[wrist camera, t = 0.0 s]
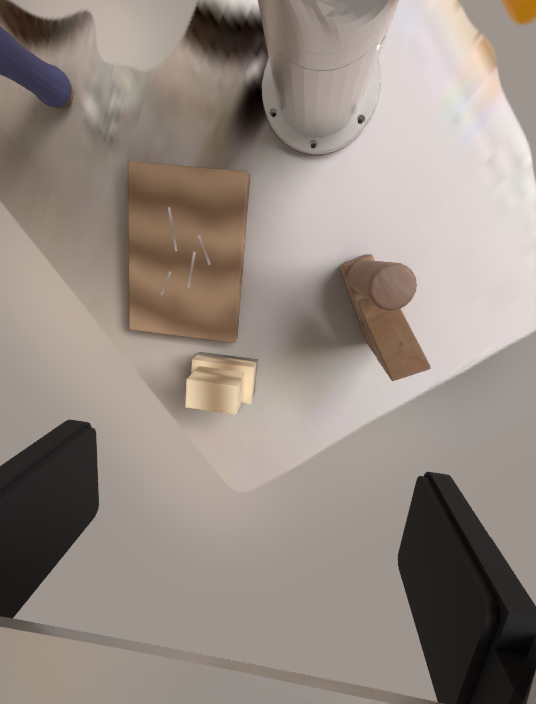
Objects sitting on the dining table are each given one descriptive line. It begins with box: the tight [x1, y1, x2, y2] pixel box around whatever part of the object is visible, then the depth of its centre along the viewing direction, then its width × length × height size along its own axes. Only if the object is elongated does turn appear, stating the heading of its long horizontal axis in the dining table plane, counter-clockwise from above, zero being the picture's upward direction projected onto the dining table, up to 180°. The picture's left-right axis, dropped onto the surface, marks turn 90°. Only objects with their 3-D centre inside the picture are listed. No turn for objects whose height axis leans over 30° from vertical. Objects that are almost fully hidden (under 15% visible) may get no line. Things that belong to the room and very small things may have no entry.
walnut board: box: [128, 161, 250, 342], centre depth 44 cm, size 20×14×2 cm
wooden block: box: [340, 255, 431, 381], centre depth 36 cm, size 4×11×18 cm, turn 22°
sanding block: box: [186, 352, 258, 414], centre depth 45 cm, size 8×5×9 cm, turn 84°
